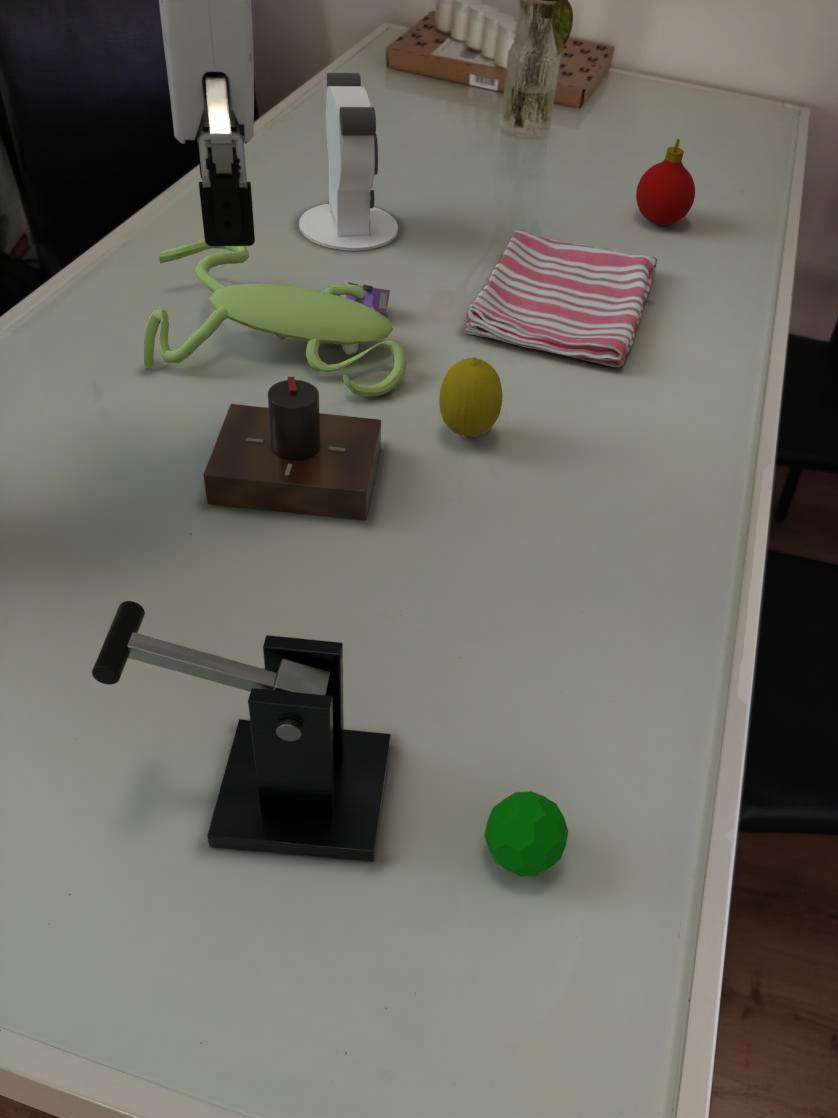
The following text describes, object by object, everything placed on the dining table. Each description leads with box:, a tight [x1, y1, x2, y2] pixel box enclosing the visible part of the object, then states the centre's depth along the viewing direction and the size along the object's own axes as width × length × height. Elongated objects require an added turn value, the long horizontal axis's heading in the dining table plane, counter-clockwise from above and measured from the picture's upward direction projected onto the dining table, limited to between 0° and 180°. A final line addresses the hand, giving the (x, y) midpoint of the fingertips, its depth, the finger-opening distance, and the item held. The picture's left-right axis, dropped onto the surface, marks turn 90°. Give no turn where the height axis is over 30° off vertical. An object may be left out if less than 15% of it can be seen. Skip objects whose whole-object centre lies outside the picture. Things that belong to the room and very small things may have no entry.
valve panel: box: [202, 403, 382, 521], centre depth 86 cm, size 13×10×3 cm
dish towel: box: [464, 229, 658, 368], centre depth 110 cm, size 17×23×4 cm
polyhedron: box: [483, 790, 569, 877], centre depth 62 cm, size 5×5×5 cm
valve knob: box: [267, 376, 321, 460], centre depth 83 cm, size 4×4×5 cm
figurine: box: [143, 237, 407, 398], centre depth 100 cm, size 18×27×6 cm
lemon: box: [438, 357, 504, 439], centre depth 90 cm, size 6×6×8 cm
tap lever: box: [91, 600, 330, 695], centre depth 57 cm, size 12×5×2 cm, turn 87°
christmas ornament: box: [635, 138, 696, 226], centre depth 124 cm, size 7×7×10 cm
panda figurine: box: [298, 72, 399, 252], centre depth 113 cm, size 12×11×15 cm
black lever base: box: [206, 634, 392, 863], centre depth 61 cm, size 10×9×12 cm
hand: (226, 210), depth 71 cm, fingers open, 9 cm apart
